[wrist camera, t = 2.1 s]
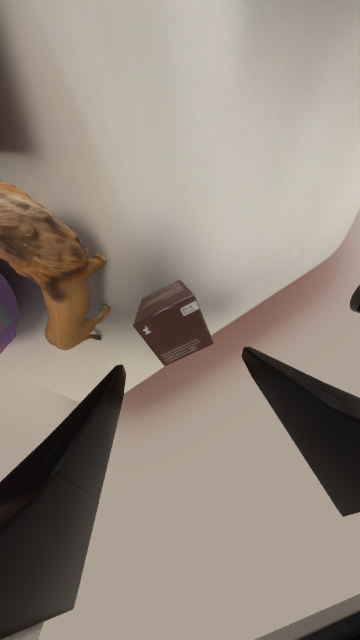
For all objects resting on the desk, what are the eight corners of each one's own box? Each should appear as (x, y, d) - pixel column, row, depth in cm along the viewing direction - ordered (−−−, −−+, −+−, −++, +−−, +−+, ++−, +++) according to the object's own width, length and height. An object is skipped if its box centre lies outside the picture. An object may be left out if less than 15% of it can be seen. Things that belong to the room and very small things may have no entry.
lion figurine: (38, 210, 12) (-192, 125, 4) (100, 216, 13) (7, 156, 5) (83, 338, 19) (28, 400, 11) (121, 337, 19) (97, 393, 12)
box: (161, 331, 20) (163, 368, 14) (140, 298, 17) (130, 325, 11) (196, 314, 20) (215, 344, 13) (181, 278, 17) (195, 294, 10)
